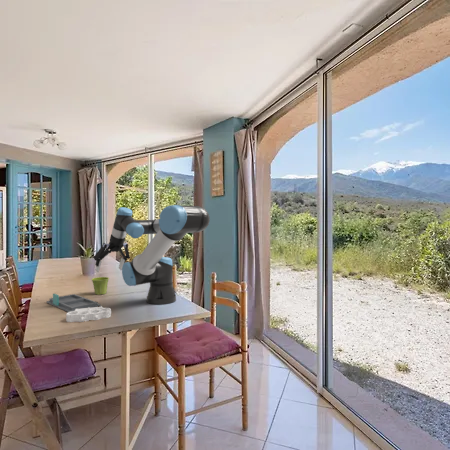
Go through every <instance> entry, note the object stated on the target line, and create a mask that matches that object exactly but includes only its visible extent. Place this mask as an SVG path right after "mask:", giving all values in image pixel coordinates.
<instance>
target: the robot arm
mask: <svg viewBox="0 0 450 450" xmlns="http://www.w3.org/2000/svg"><path fill="white" fill-rule="evenodd" d="M210 220H211V219H210V214H209V212H208V211H207V209H205V208H204V207H202V206H199V205H179V204H174V205H173V204H172V205H167V206H166V207H164V208H163V209H162V210H161V212H160V213H159V218H156V219H135V218H133V210H132V209H130V208H128V207H126V206H125V207H118V209H117V212H116V214H115V218H114V223H113V225H112V230H111V234H110V237H109V241H108V243H105V242H103V243H102V245H101V247H100V248H99V249H98V251H97V252H96V254H94V256H93V260H94V261H95V263H94V264H95V271H96V273H99V271H100V269H101V264H102V260H103V259H104V258H105V257H107V255H109V254H111V253H115V252H116V253H117V252H119V253H120V255H121V258H120V262H119V265H118V269H119V270H120V271H121V275H122V279H123V282H124V283H125V285H127V286H129V287H133V286H134V287H135V286H139V285H146V284H149V289H148V292H147V296H146V303H148V304H151V305H167V304H171V303H174V302H176V301H177V295H176V292H175V289H174V284H173V281H174V280H173V278H174V277H173V275H174V274H173V266H174V265H173V259H172V258H171V257H167V256H164V255H166V254H167V252H168V251H169V250H170V248H171V247H172V246H173V245H174V243H176V242H179V241H181V240H183V238H184V237H185V236H186V235H187V234H190V233H191V234H193V233H200V232H203V231H205V230H206V229H207V228H208V226H209V225H210ZM127 235H128V236H129V237H131V238H133V239H139V238H140V237H142V236H143V235H144V236H145V235H154V236H153V238H152V239H151V240H150V242H149V243H148V244H147V246H146V247H145V248H144V249H143V251H142V252H141V253H139V254H137V255H135V256H134V257H133V259H132V260H131V261H128V260H129V259H131V256H130V252H129V243H127V242H125V241H126V237H127ZM122 248H123V249H124V252H123V250H122Z"/></svg>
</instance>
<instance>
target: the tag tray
mask: <svg viewBox="0 0 450 450" xmlns="http://www.w3.org/2000/svg"><path fill="white" fill-rule="evenodd" d="M46 303H47V304H48V305H51V306H53V307H55V308H58V309H60V310H62V311H64V312H66V313H68V312H71V311H75V309H82V308H88V307H90V308H92V307H98V306H99V307H100V306H102V305H101V304H100V303H98V301H96V300H93V299H89V298H85V297H84V296H81V295H78V294H75V293H72V294H66V295H63V296H62V295H61V296H59V294H58V293H57V294H56V293H52V297H51V298H49V300H46Z"/></svg>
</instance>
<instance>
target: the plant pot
mask: <svg viewBox="0 0 450 450" xmlns="http://www.w3.org/2000/svg"><path fill="white" fill-rule="evenodd" d="M109 280H110V277H107V276H102V277H101V276H99V277H94V278H91V282H92V284H93V291H94V294H95V295H96V296H97V295H98V296H101V295H106V294H107V290H108V282H109Z"/></svg>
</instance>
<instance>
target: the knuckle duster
mask: <svg viewBox="0 0 450 450" xmlns="http://www.w3.org/2000/svg"><path fill="white" fill-rule="evenodd" d="M65 316H66V317H65V320H66V321H65V322H67V323H74V322H79V323H82V322H84V321H85V322H89V320H94V321H97V320H101V319H108V318H110V317H112V309H111V308H110V307H104V306H102V305H101V306H99V307H92V308H90V307H88V308H82V309H75V311H71V312H66V313H65Z"/></svg>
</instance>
